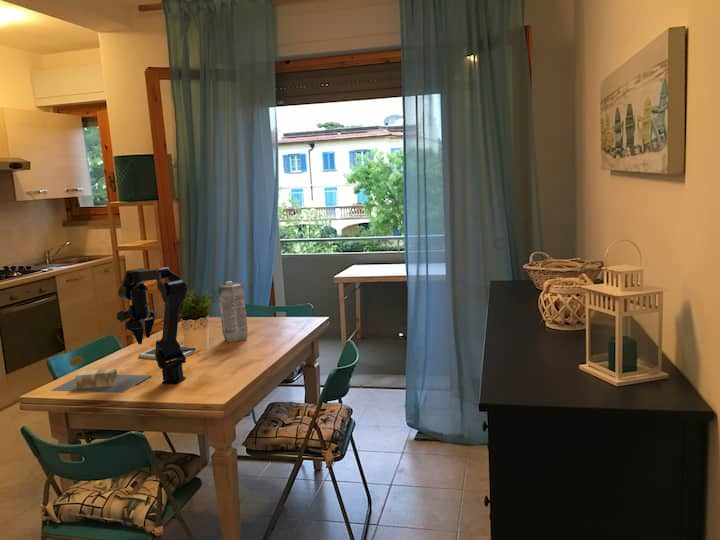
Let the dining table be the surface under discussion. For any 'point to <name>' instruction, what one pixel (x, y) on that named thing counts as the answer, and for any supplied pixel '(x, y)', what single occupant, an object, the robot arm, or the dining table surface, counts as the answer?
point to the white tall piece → (96, 378)
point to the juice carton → (233, 311)
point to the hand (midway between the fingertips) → (144, 340)
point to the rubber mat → (119, 387)
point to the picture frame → (184, 350)
